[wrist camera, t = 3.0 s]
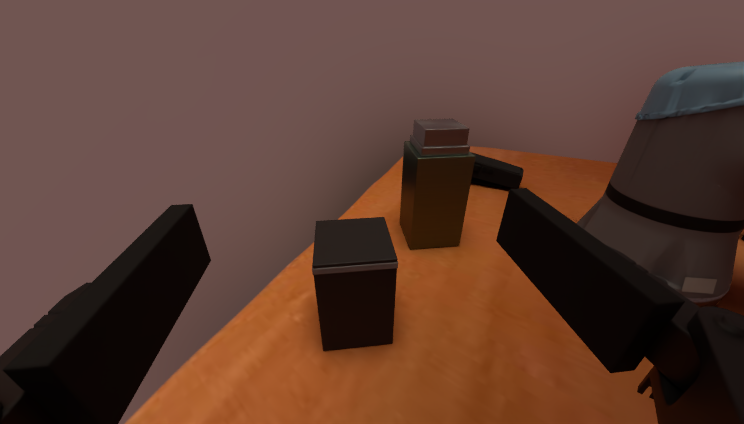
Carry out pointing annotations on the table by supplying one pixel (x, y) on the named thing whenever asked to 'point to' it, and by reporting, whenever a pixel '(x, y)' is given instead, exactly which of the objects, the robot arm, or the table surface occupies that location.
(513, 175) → the walkie-talkie
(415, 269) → the table surface
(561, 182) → the table surface
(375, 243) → the dark lidded box
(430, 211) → the olive square canister
